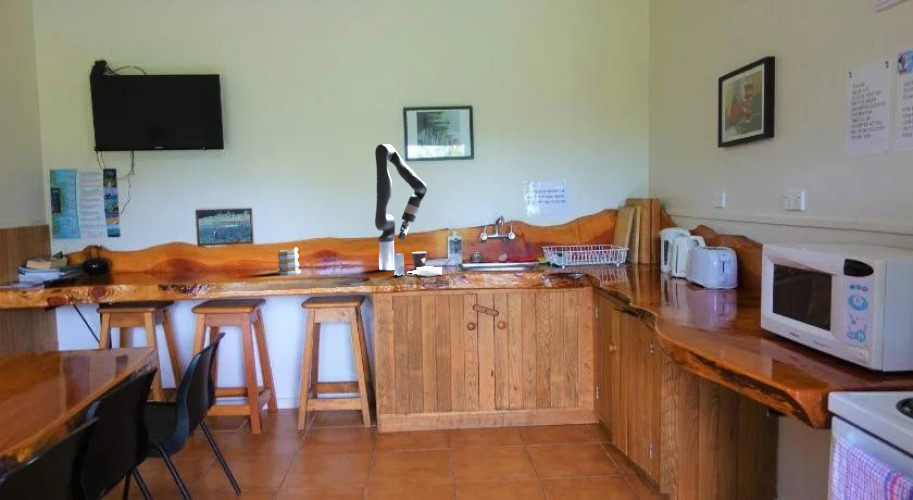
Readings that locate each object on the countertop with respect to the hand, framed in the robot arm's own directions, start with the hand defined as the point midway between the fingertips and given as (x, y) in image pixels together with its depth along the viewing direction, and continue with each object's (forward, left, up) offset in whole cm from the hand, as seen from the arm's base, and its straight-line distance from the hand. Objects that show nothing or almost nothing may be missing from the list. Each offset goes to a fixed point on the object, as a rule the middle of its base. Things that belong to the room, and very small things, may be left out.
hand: (400, 239), depth 336 cm
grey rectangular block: (+8, -7, -19) cm, 22 cm away
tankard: (-57, -42, -19) cm, 73 cm away
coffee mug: (-6, +19, -19) cm, 28 cm away
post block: (+15, +5, -19) cm, 25 cm away
